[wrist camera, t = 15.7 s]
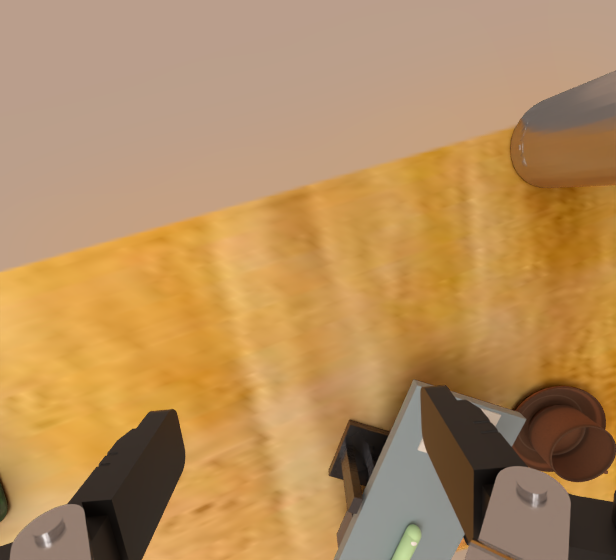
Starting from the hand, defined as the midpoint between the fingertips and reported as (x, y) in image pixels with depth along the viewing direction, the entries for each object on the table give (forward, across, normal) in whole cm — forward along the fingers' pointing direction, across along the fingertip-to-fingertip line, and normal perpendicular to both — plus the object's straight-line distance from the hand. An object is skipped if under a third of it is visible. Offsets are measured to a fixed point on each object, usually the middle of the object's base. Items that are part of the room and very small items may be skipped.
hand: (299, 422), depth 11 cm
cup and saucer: (+30, -29, +24) cm, 49 cm away
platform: (+26, -10, +26) cm, 38 cm away
